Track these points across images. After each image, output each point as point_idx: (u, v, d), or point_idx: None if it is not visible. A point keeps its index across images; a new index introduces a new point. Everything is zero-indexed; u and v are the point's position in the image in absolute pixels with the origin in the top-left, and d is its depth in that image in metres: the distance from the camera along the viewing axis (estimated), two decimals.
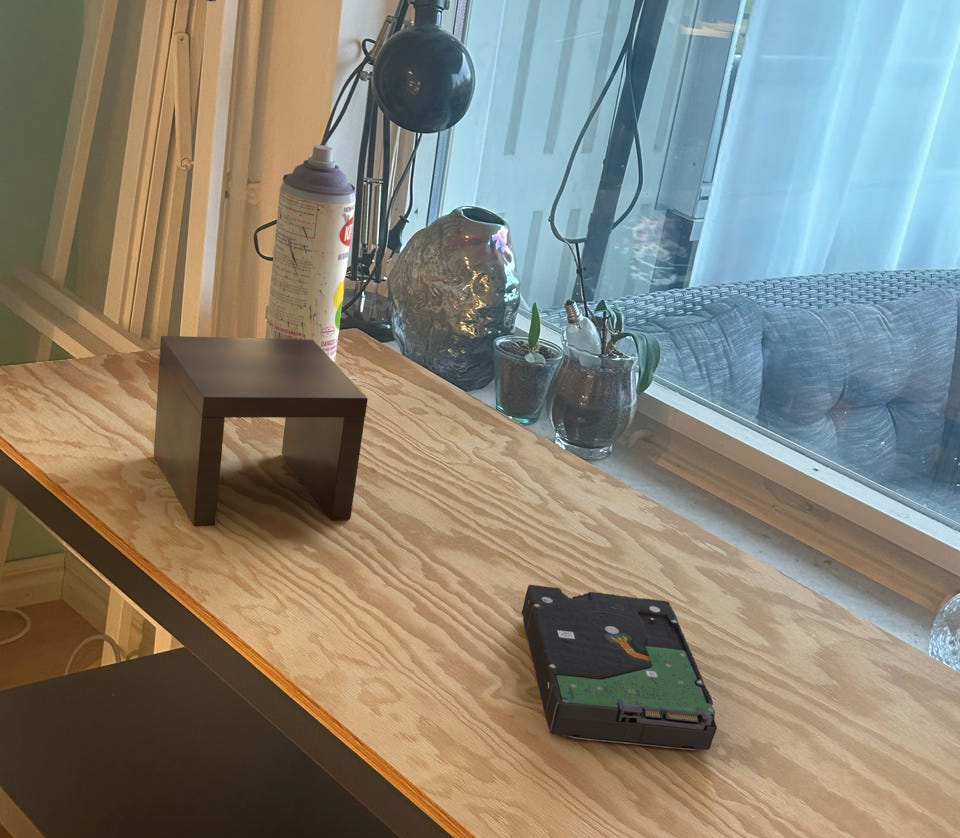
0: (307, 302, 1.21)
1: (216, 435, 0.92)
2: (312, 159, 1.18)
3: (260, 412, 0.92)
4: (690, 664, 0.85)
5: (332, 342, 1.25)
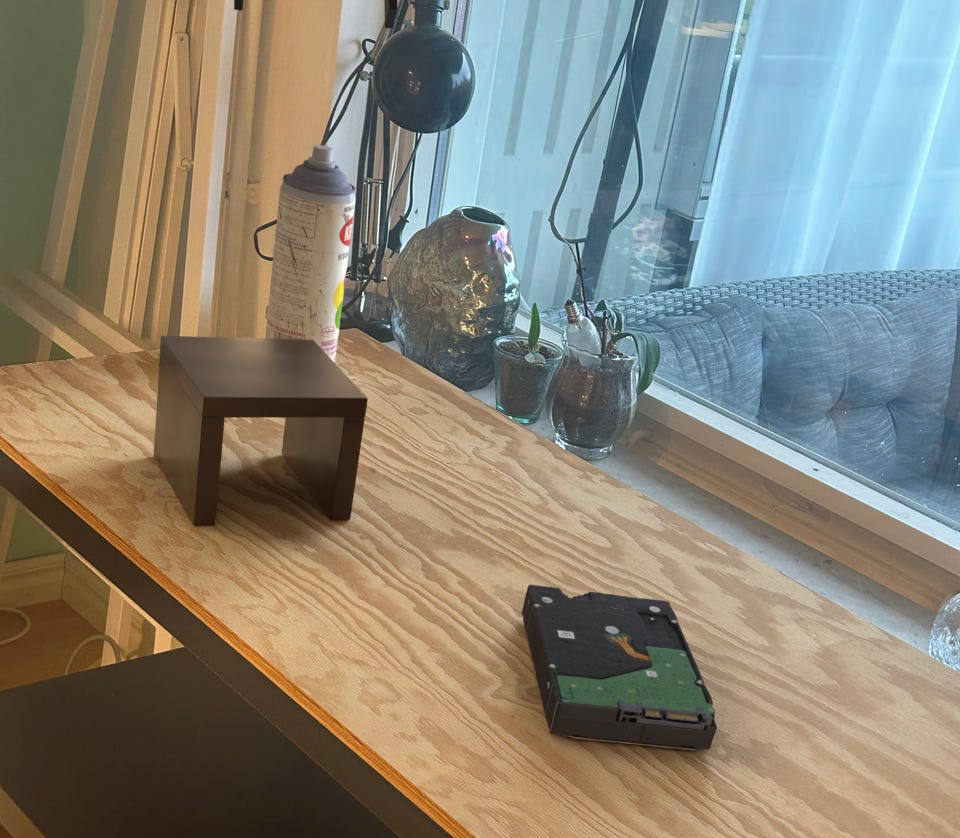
0: (307, 301, 1.21)
1: (216, 435, 0.92)
2: (312, 159, 1.18)
3: (260, 412, 0.92)
4: (690, 664, 0.85)
5: (332, 342, 1.25)
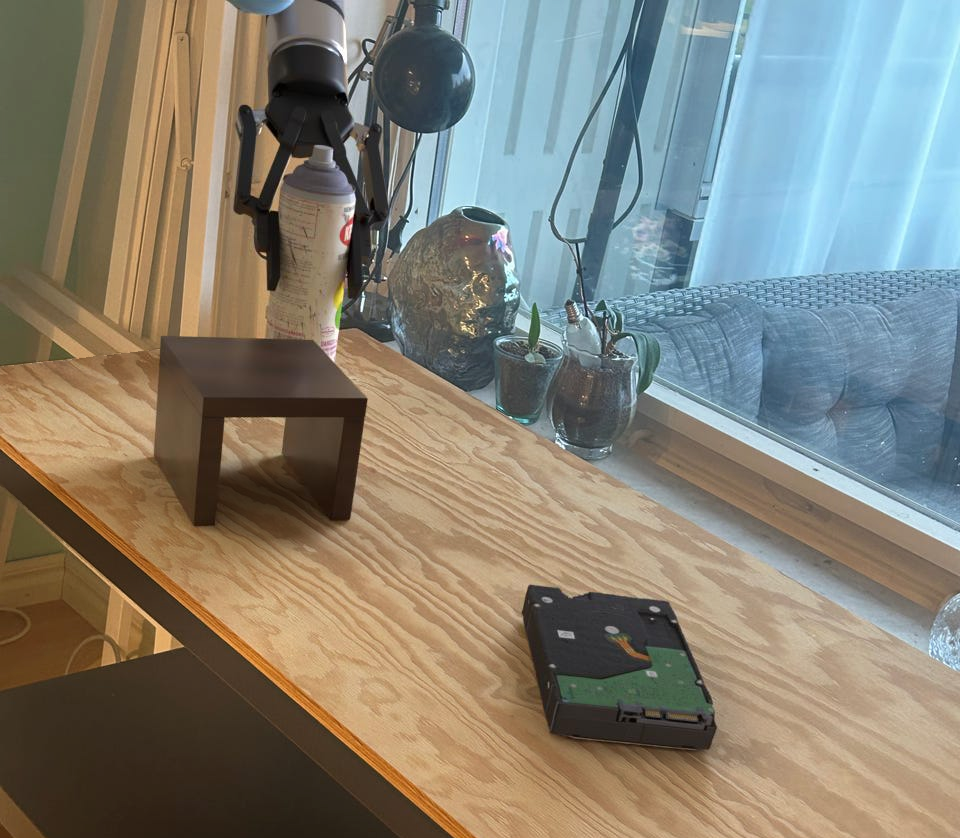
0: (307, 302, 1.21)
1: (216, 435, 0.92)
2: (312, 159, 1.18)
3: (260, 412, 0.92)
4: (690, 664, 0.85)
5: (332, 342, 1.25)
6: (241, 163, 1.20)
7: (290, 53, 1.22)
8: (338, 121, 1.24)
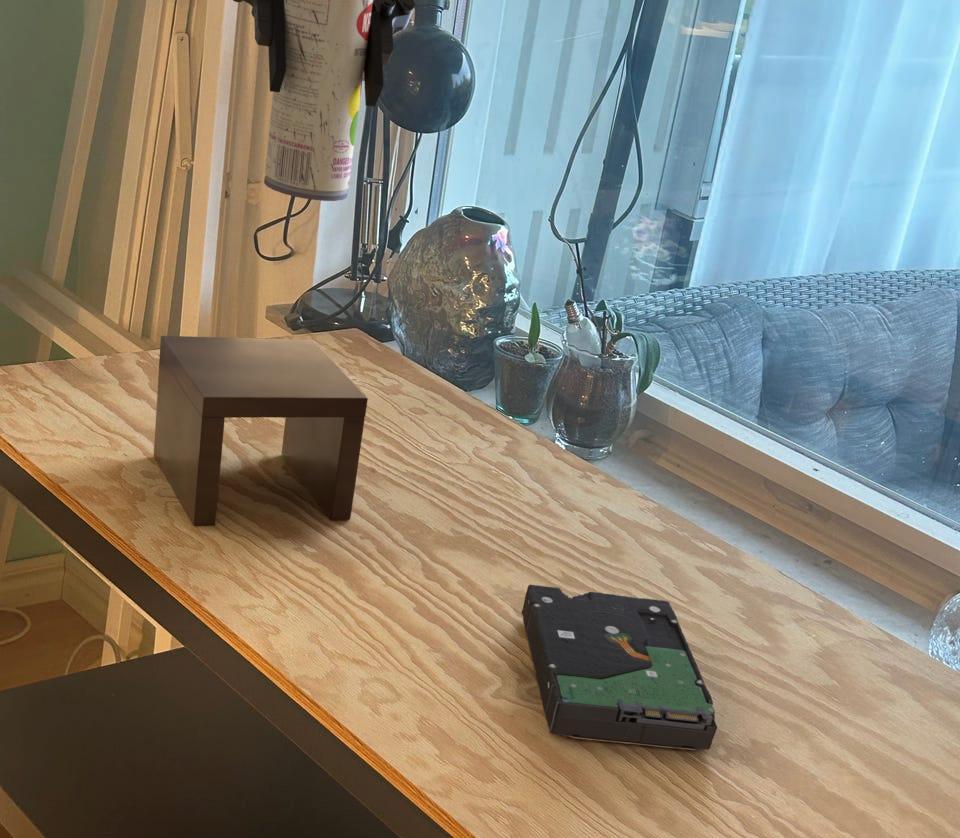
0: (318, 106, 1.02)
1: (216, 435, 0.92)
2: None
3: (260, 412, 0.92)
4: (690, 664, 0.85)
5: (346, 161, 1.06)
6: None
7: None
8: None
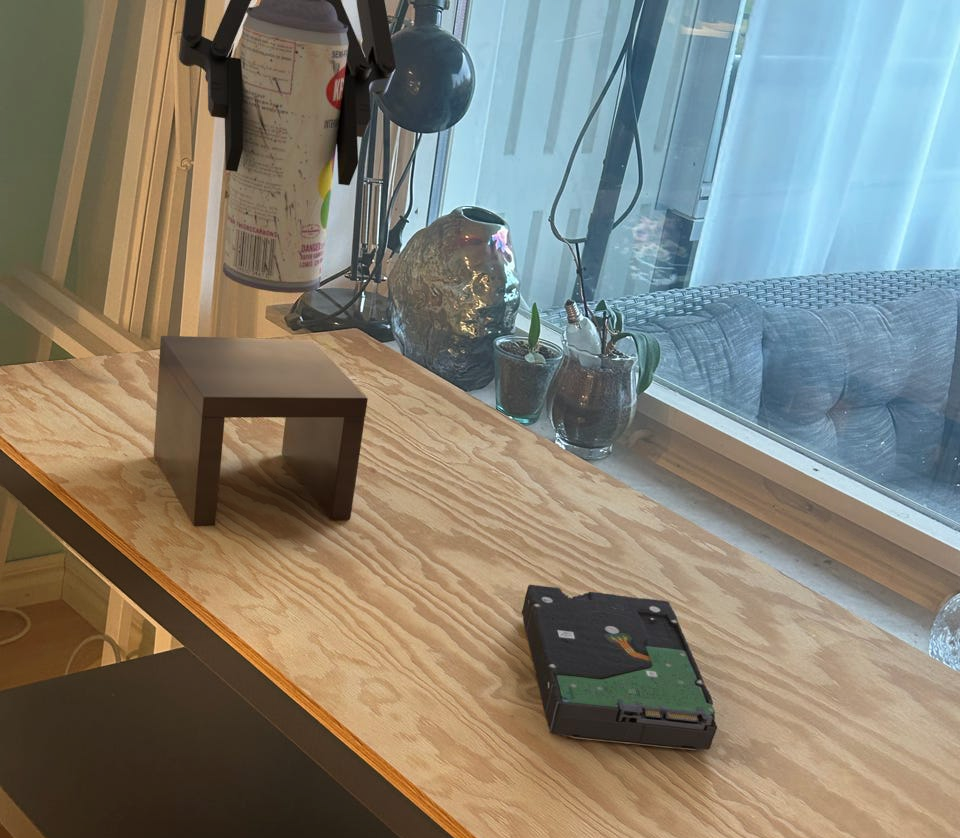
0: (282, 187, 0.88)
1: (216, 435, 0.92)
2: None
3: (260, 412, 0.92)
4: (690, 664, 0.85)
5: (316, 247, 0.91)
6: None
7: None
8: None
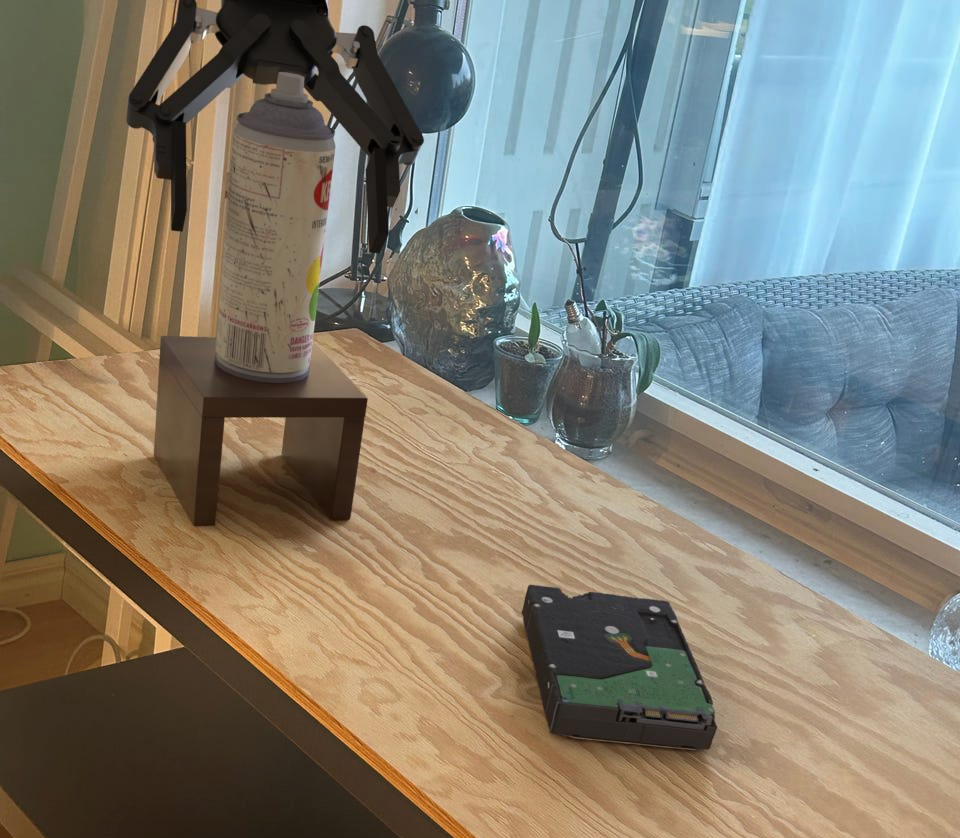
0: (272, 284, 0.91)
1: (216, 435, 0.92)
2: (276, 91, 0.87)
3: (260, 412, 0.92)
4: (690, 664, 0.85)
5: (305, 339, 0.94)
6: (152, 62, 0.89)
7: None
8: (317, 37, 0.93)
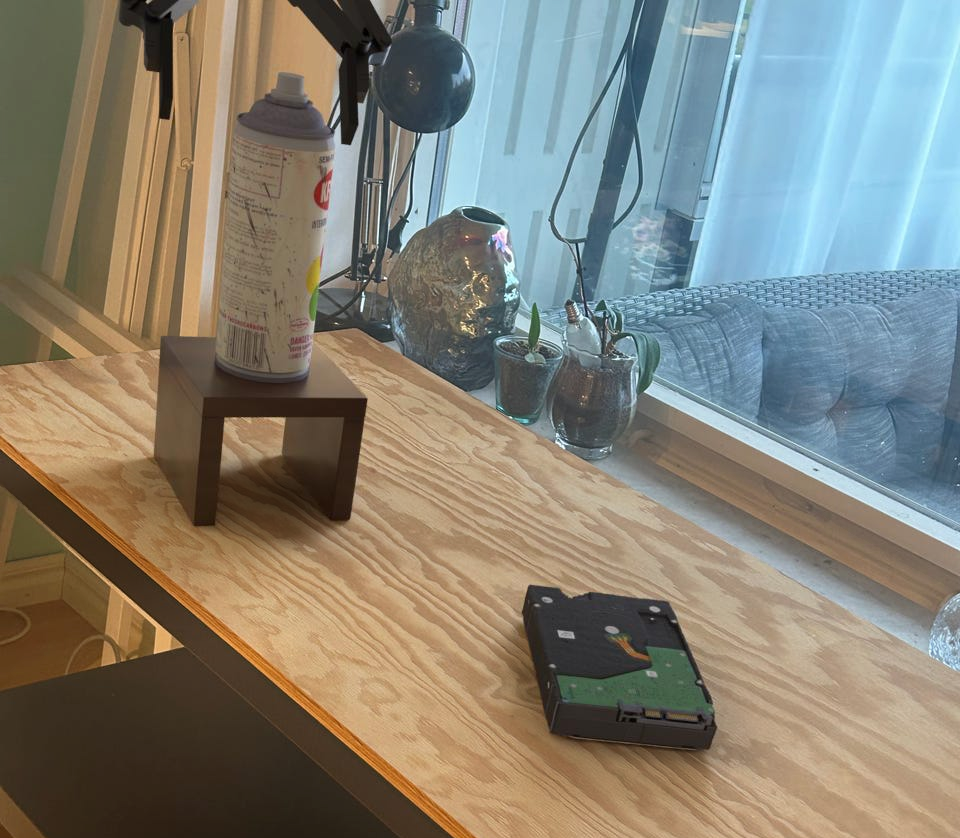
0: (272, 284, 0.91)
1: (216, 435, 0.92)
2: (276, 91, 0.87)
3: (260, 412, 0.92)
4: (690, 664, 0.85)
5: (305, 339, 0.94)
6: None
7: None
8: None
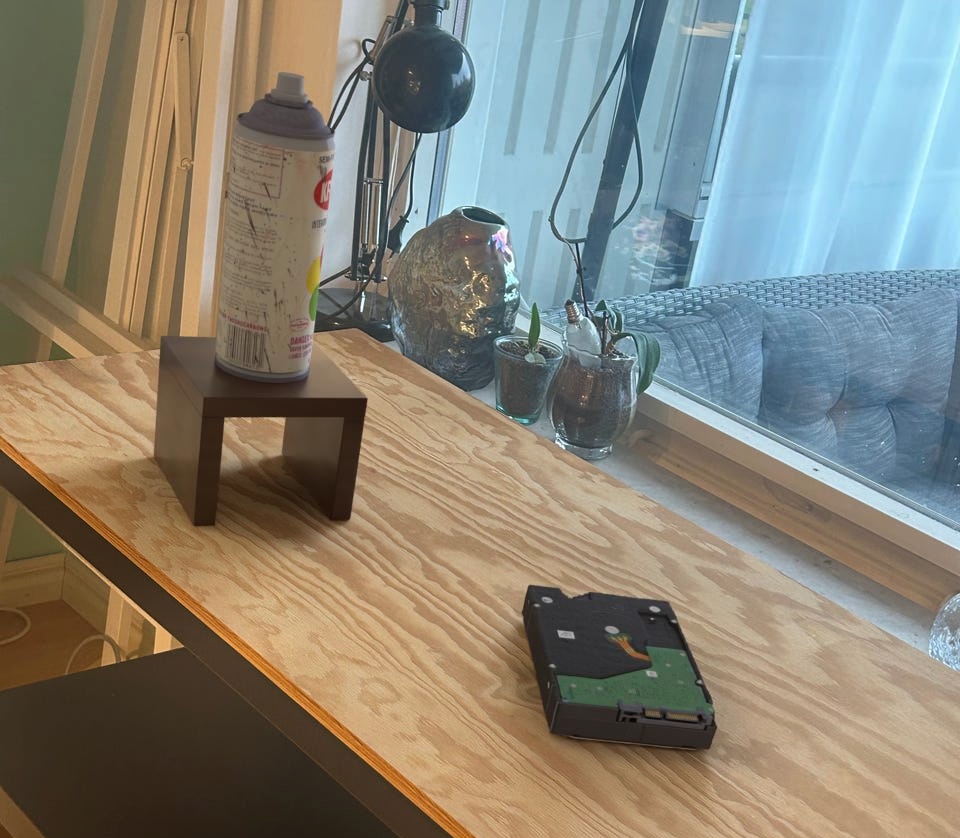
0: (272, 284, 0.91)
1: (216, 435, 0.92)
2: (276, 91, 0.87)
3: (260, 412, 0.92)
4: (690, 664, 0.85)
5: (305, 339, 0.94)
6: None
7: None
8: None
